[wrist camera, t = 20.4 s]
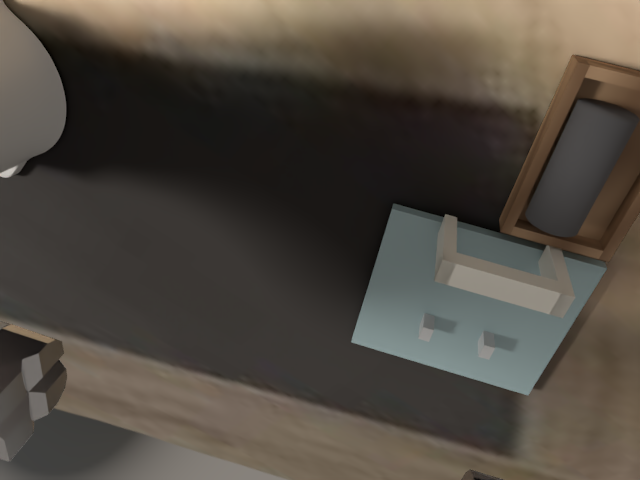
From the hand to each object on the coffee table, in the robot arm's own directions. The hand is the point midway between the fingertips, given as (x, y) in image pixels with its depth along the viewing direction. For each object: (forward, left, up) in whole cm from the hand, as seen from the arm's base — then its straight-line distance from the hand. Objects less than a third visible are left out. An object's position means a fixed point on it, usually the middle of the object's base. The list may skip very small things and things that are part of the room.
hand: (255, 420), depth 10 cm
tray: (+15, -5, -34) cm, 38 cm away
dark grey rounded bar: (+15, -5, -33) cm, 37 cm away
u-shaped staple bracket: (+12, -13, -33) cm, 37 cm away
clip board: (+11, -21, -34) cm, 42 cm away
